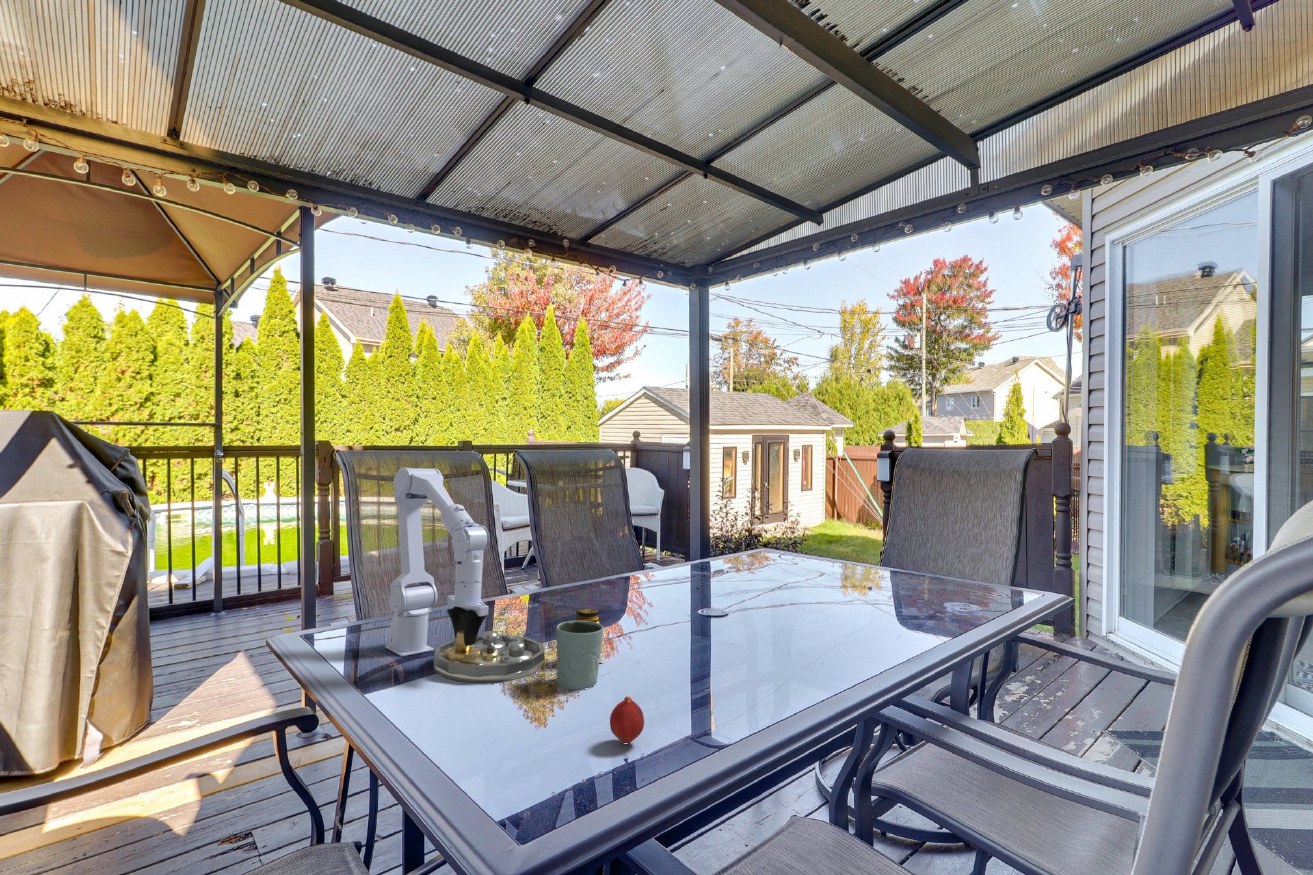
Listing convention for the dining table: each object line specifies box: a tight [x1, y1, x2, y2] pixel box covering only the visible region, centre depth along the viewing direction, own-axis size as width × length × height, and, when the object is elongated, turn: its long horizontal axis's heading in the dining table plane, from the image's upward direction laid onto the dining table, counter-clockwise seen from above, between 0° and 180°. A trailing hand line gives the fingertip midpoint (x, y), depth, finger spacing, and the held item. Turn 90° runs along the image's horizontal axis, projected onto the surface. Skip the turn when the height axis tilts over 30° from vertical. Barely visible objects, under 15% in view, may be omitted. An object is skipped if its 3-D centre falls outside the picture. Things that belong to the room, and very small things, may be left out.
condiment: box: [575, 607, 600, 624], centre depth 148 cm, size 7×8×12 cm
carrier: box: [433, 630, 546, 684], centre depth 143 cm, size 24×24×6 cm
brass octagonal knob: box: [444, 630, 481, 662], centre depth 138 cm, size 7×7×6 cm
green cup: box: [555, 620, 604, 691], centre depth 133 cm, size 10×10×12 cm
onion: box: [609, 695, 645, 744], centre depth 105 cm, size 6×6×8 cm
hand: (465, 642), depth 138 cm, fingers closed on brass octagonal knob, 3 cm apart
